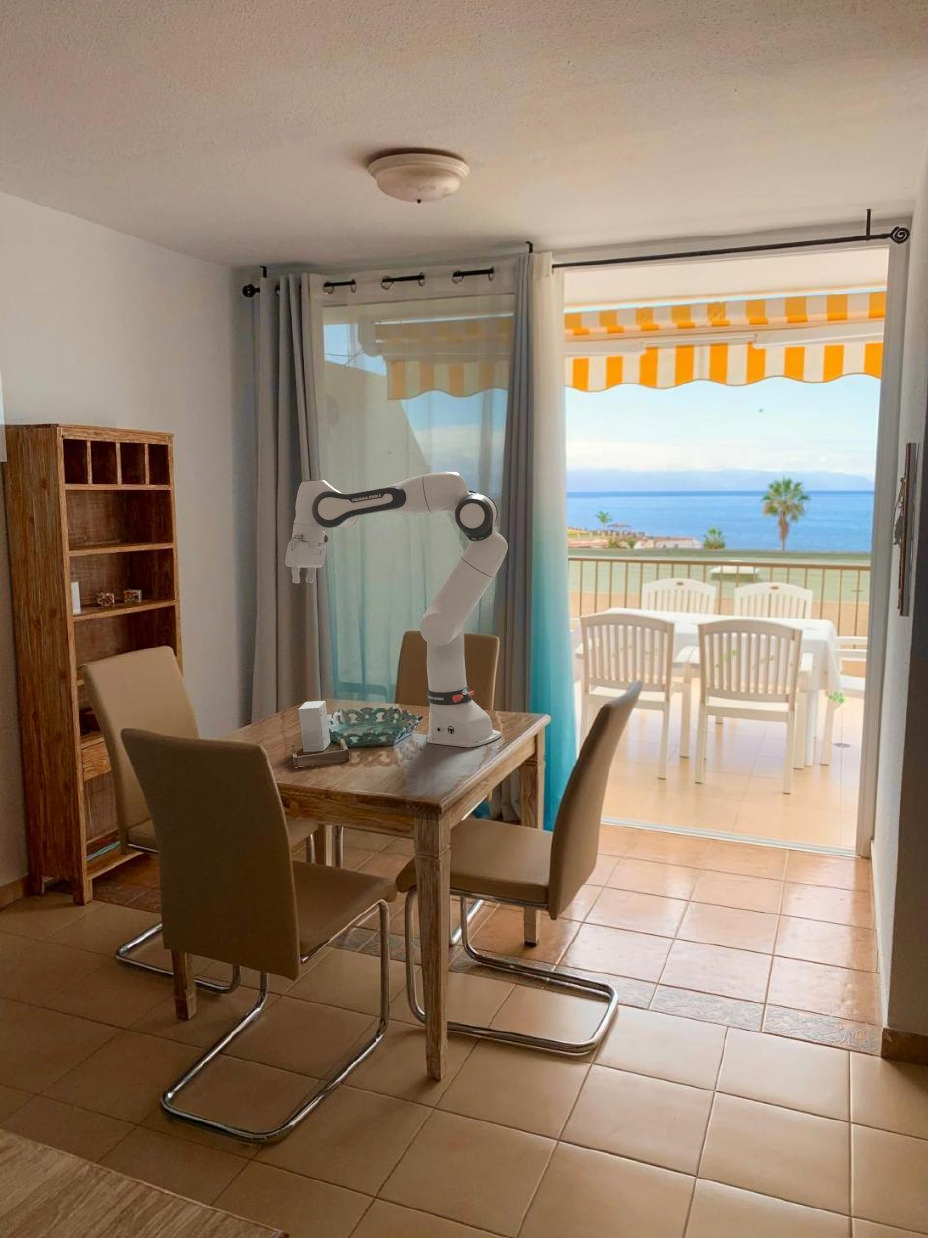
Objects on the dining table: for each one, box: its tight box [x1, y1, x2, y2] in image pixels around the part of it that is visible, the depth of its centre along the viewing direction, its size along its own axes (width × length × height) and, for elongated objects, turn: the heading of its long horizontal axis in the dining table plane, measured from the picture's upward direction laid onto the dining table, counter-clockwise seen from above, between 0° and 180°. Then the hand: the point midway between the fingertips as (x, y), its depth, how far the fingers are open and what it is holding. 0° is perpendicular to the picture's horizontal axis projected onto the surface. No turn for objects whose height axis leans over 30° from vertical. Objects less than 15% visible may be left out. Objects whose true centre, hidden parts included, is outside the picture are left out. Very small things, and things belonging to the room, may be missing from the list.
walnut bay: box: [290, 737, 350, 768], centre depth 270 cm, size 12×15×3 cm
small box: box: [297, 700, 331, 753], centre depth 280 cm, size 8×6×13 cm
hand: (302, 582), depth 278 cm, fingers open, 8 cm apart
